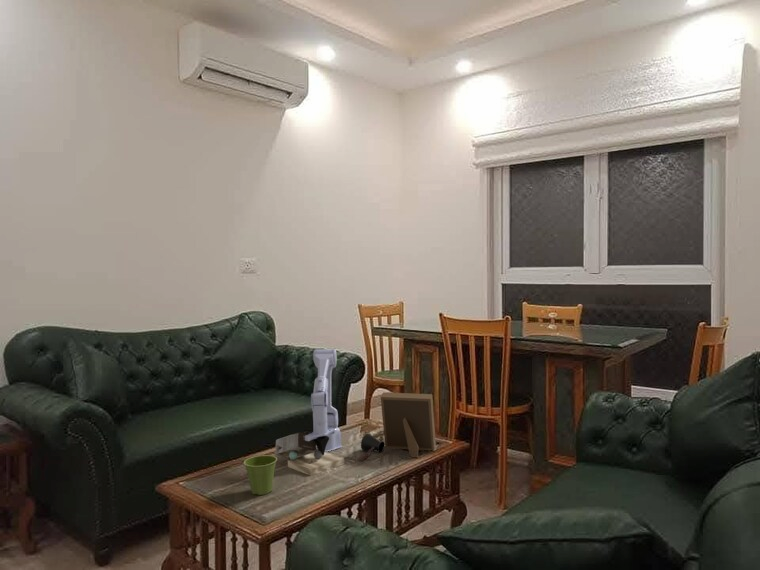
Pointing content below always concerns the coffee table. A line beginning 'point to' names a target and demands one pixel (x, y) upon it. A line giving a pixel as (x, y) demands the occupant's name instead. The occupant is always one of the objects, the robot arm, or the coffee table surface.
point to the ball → (318, 454)
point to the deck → (315, 463)
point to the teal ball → (293, 455)
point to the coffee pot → (370, 445)
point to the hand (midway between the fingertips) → (321, 454)
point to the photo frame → (408, 421)
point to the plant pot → (261, 473)
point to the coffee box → (294, 444)
